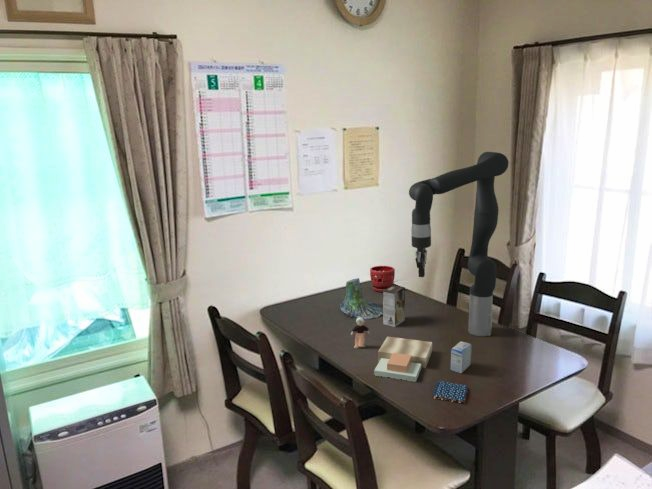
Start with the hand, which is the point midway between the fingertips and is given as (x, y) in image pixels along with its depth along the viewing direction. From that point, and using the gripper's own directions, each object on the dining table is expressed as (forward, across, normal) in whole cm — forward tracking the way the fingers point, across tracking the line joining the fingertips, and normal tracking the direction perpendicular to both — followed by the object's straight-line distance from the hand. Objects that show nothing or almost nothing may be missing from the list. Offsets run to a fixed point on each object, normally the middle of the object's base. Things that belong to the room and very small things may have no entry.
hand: (421, 276), depth 198 cm
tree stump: (+28, +23, +33) cm, 49 cm away
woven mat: (+28, -39, -16) cm, 50 cm away
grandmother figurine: (+27, -13, +23) cm, 38 cm away
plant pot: (+28, +58, +31) cm, 71 cm away
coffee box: (+28, +15, +15) cm, 35 cm away
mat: (+27, -29, +4) cm, 40 cm away
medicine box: (+28, -20, -17) cm, 38 cm away
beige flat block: (+27, -16, +4) cm, 32 cm away
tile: (+25, -28, +4) cm, 38 cm away
